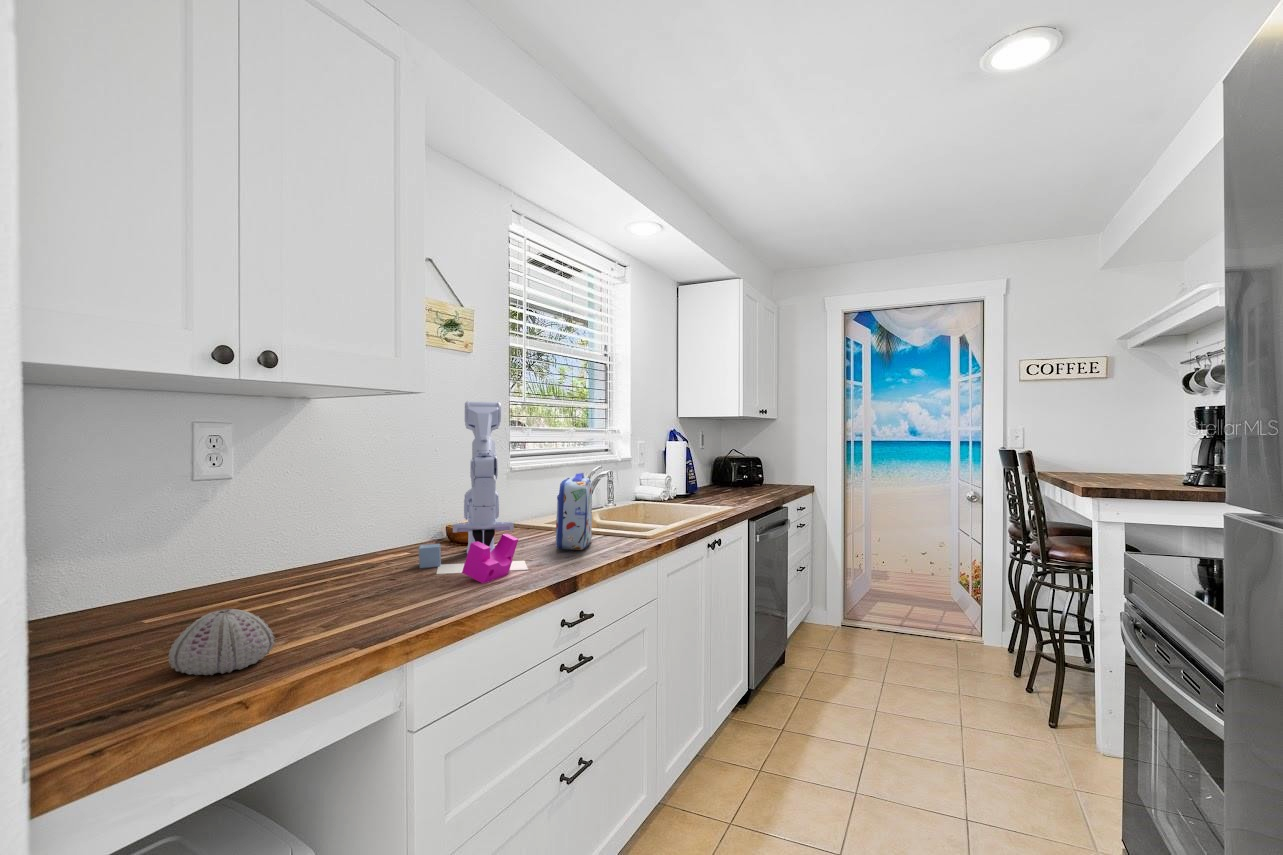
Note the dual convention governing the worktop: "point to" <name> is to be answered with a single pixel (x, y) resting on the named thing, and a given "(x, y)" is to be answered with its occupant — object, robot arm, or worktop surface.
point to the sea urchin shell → (221, 643)
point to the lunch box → (574, 513)
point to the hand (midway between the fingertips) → (483, 560)
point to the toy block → (490, 559)
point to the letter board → (459, 567)
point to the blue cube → (429, 555)
